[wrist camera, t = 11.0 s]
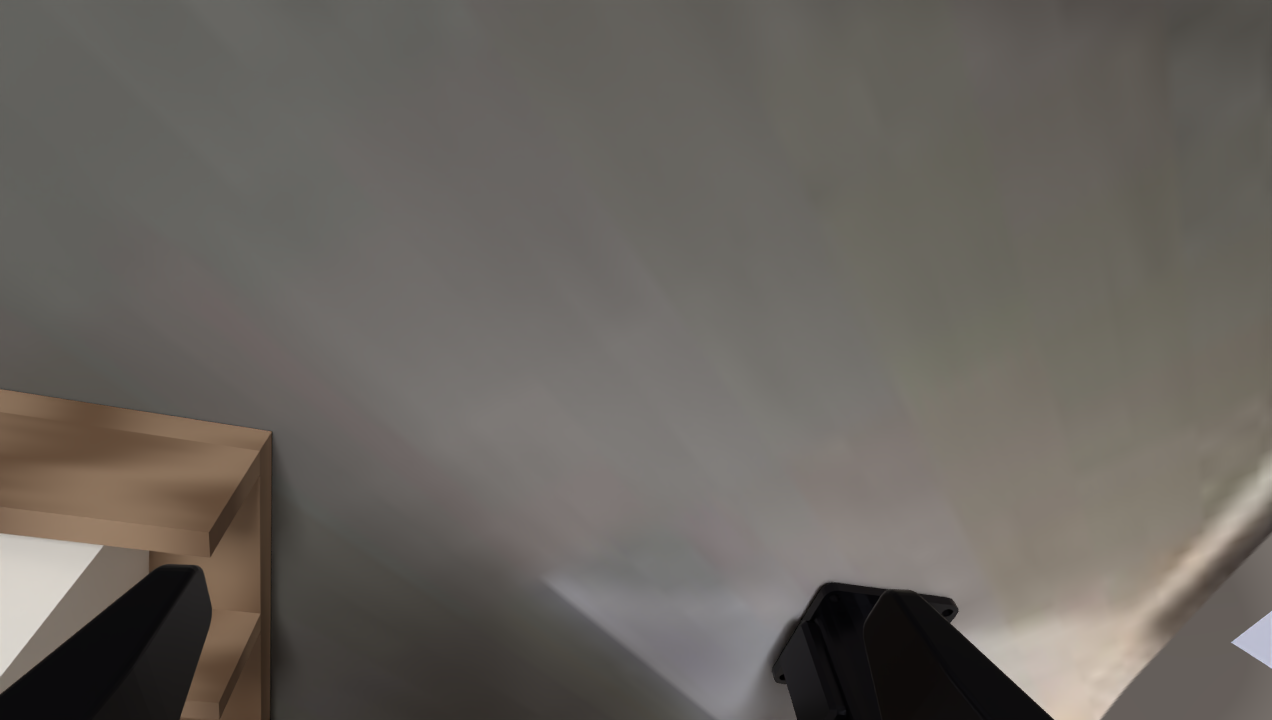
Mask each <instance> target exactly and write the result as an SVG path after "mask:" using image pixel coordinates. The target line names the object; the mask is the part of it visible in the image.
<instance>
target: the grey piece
mask: <svg viewBox="0 0 1272 720" xmlns="http://www.w3.org/2000/svg"><path fill="white" fill-rule="evenodd" d="M148 574H149V551H148V550H139V549H131V548H122V547H113V546H105V545H96V544H88V543H79V542H71V541H62V540H53V539H45V538H36V537H28V536H19V535H11V534H2V533H0V694H1V693H2V692H3V691H5V690H6V689H7V688H8V687H10V686H11V685H12V684H13V683H15V682H16V681H17V680H18V679H19V678H21V677H22V676H23V675H24V674H26V673H27V672H28V671H29V670H31V669H32V668H33V667H34V666H36V665H37V664H38V663H39V662H40V661H42V660H43V659H44V658H45V657H47V656H48V655H49V654H50V653H52V652H53V651H54V650H55V649H56V648H58V647H59V646H60V645H61V644H63V643H64V642H65V641H66V640H68V639H69V638H70V637H71V636H73V635H74V634H75V633H76V632H77V631H79V630H80V629H81V628H82V627H84V626H85V625H86V624H87V623H89V622H90V621H91V620H92V619H93V618H95V617H96V616H97V615H98V614H100V613H101V612H102V611H103V610H105V609H106V608H107V607H108V606H109V605H111V604H112V603H113V602H114V601H116V600H117V599H118V598H119V597H121V596H122V595H123V594H124V593H126V592H127V591H128V590H129V589H130V588H132V587H133V586H134V585H135V584H137V583H138V582H139V581H140V580H142V579H143V578H144V577H145V576H146V575H148Z"/></svg>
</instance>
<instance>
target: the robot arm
mask: <svg viewBox="0 0 1272 720" xmlns="http://www.w3.org/2000/svg"><path fill="white" fill-rule="evenodd" d="M957 613H958V607H957V606H956V604H955V602H954V601H953V600H952V599H950V598H946V597H938V596H931V595H923V594H917V593H916V592H914V591H911V590H899V589H889V590H886V589H878V588H871V587H863V586H856V585H848V584H841V583H830V584H827V585H825V586H823V587H822V588H821V590H820V591H819V593H818V595H817V596H816V598H815V600H814V601H813V603H812V604H811V606H810V608H809V609H808V611H807V613H806V614H805V616H804V618H803V619H802V621H801V622H800V624H799V626H798V627H797V629H796V631H795V632H794V634H793V636H792V637H791V639H790V641H789V642H788V644H787V645H786V647H785V649H784V650H783V652H782V654H781V655H780V657H779V659H778V660H777V662H776V663H775V665H774V667H773V669H772V673H773V676H774V680H775V681H776V682H777V683H781V684H787V686H788V690H789V693H790V696H791V700H792V703H793V707H794V710H795V713H796V717H797V720H1054V719H1053V718H1052V717H1051V716H1050V715H1049V714H1047V713H1046V712H1045V711H1044V710H1043V709H1042V708H1041V707H1040V706H1039V705H1038V704H1037V703H1036V702H1034V701H1033V700H1032V699H1031V698H1030V697H1029V696H1028V695H1027V694H1026V693H1025V692H1024V691H1023V690H1022V689H1020V688H1019V687H1018V686H1017V685H1016V684H1015V683H1014V682H1013V681H1012V680H1011V679H1010V678H1009V677H1008V676H1006V675H1005V674H1004V673H1003V672H1002V671H1001V670H1000V669H999V668H998V667H997V666H996V665H995V664H993V663H992V662H991V661H990V660H989V659H988V658H987V657H986V656H985V655H984V654H983V653H982V652H981V651H979V650H978V649H977V648H976V647H975V646H974V645H973V644H972V643H971V642H970V641H969V640H968V639H967V638H965V637H964V636H963V635H962V634H961V633H960V632H959V631H958V630H957V629H956V628H955V627H954V626H953V625H951V624H950V623H951V621H952V620H953V619H954V617H955V616H956V615H957ZM211 619H212V605H211V600H210V596H209V592H208V588H207V583H206V579H205V575H204V572H203V569H202V568H201V567H199V566H198V565H186V564H165V565H162V566H159V567H157V568H155V569H154V570H153V571H151V572H150V573H149V574H148V575H146V576H145V577H144V578H143V579H142V580H140V581H139V582H138V583H137V584H135V585H134V586H133V587H132V588H130V589H129V590H128V591H127V592H126V593H124V594H123V595H122V596H121V597H119V598H118V599H117V600H116V601H114V602H113V603H112V604H111V605H109V606H108V607H107V608H106V609H105V610H103V611H102V612H101V613H100V614H98V615H97V616H96V617H95V618H93V619H92V620H91V621H90V622H89V623H87V624H86V625H85V626H84V627H82V628H81V629H80V630H79V631H77V632H76V633H75V634H74V635H73V636H71V637H70V638H69V639H68V640H66V641H65V642H64V643H63V644H61V645H60V646H59V647H58V648H56V649H55V650H54V651H53V652H52V653H50V654H49V655H48V656H47V657H45V658H44V659H43V660H42V661H40V662H39V663H38V664H37V665H36V666H34V667H33V668H32V669H31V670H29V671H28V672H27V673H26V674H24V675H23V676H22V677H21V678H19V679H18V680H17V681H16V682H15V683H13V684H12V685H11V686H10V687H8V688H7V689H6V690H5V691H3V692H2V693H1V694H0V720H180V717H181V714H182V711H183V708H184V705H185V701H186V698H187V695H188V692H189V689H190V686H191V683H192V680H193V677H194V674H195V671H196V668H197V665H198V661H199V658H200V655H201V652H202V649H203V646H204V643H205V640H206V637H207V634H208V631H209V627H210V624H211Z"/></svg>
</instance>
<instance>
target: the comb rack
mask: <svg viewBox="0 0 1272 720" xmlns="http://www.w3.org/2000/svg"><path fill="white" fill-rule="evenodd" d="M271 470H272V432H271V431H265V430H259V429H252V428H246V427H239V426H233V425H226V424H220V423H214V422H207V421H201V420H194V419H188V418H182V417H175V416H169V415H162V414H156V413H149V412H143V411H137V410H130V409H124V408H117V407H111V406H105V405H98V404H92V403H85V402H79V401H73V400H66V399H60V398H53V397H47V396H40V395H34V394H28V393H21V392H15V391H8V390H2V389H0V533H2V534H11V535H19V536H28V537H36V538H45V539H53V540H62V541H71V542H79V543H88V544H96V545H105V546H113V547H122V548H131V549H139V550H148V551H149V573H150V572H151V571H153V570H154V569H155V568H157V567H159V566H162V565H165V564H186V565H198V566H199V567H201V568H202V569H203V572H204V575H205V579H206V583H207V588H208V592H209V596H210V600H211V605H212V619H211V624H210V627H209V631H208V634H207V637H206V640H205V643H204V646H203V649H202V652H201V655H200V658H199V661H198V665H197V668H196V671H195V674H194V677H193V680H192V683H191V686H190V689H189V692H188V695H187V698H186V701H185V705H184V708H183V711H182V714H181V717H180V720H270V630H271Z"/></svg>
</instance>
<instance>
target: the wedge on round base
mask: <svg viewBox="0 0 1272 720" xmlns="http://www.w3.org/2000/svg"><path fill="white" fill-rule="evenodd" d="M1231 643H1233V644H1234V645H1236V646H1237V647H1239V648H1241V649H1242V650H1244V651H1245V652H1247V653H1248V654H1250V655H1251V656H1253V657H1255V658H1256V659H1258V660H1259V661H1261V662H1263V663H1264V664H1266V665H1267V666H1269V667H1270V668H1272V611H1271V612H1270V613H1268V614H1267V615H1266V616H1264V617H1263V618H1262V619H1261V620H1259V621H1258V622H1257V623H1255V624H1254V625H1253V626H1252V627H1250V628H1249V629H1248V630H1246V631H1245V632H1244V633H1242V634H1241V635H1240V636H1239V637H1237V638H1236V639H1235V640H1233V641H1232V642H1231Z"/></svg>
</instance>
